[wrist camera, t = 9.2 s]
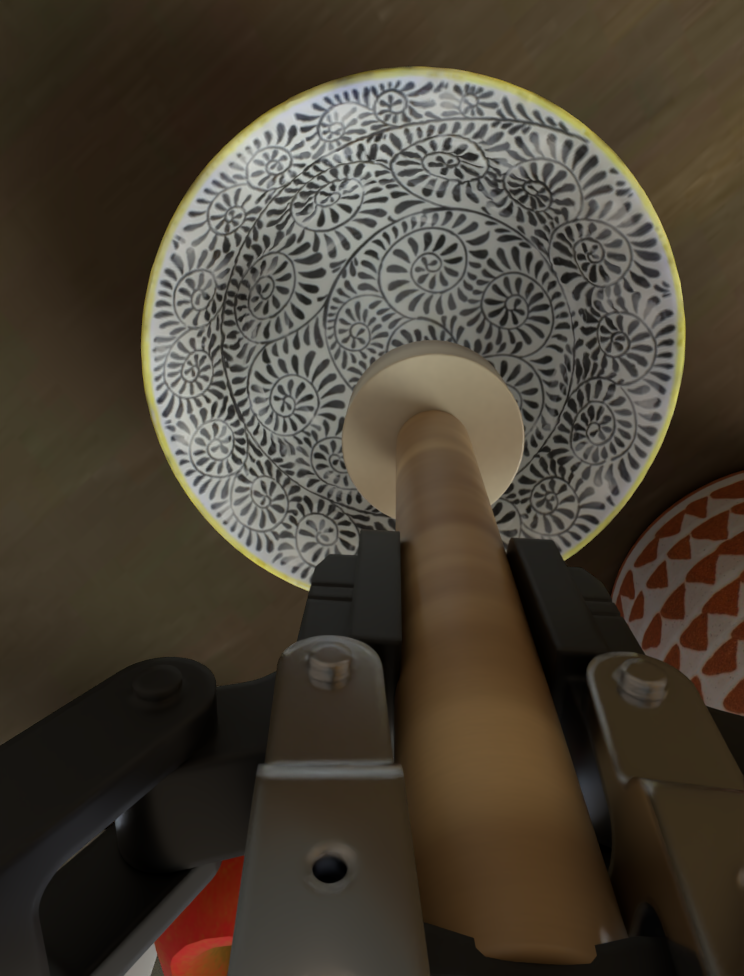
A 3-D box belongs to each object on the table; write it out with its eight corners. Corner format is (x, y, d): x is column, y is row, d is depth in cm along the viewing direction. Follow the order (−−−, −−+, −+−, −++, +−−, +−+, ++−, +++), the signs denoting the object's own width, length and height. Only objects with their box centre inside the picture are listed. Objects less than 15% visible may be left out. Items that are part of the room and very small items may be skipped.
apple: (383, 796, 36) (376, 1021, 26) (262, 853, 38) (213, 1080, 28) (289, 691, 33) (240, 895, 24) (165, 758, 36) (73, 971, 26)
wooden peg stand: (316, 387, 20) (64, 932, 5) (471, 308, 18) (763, 688, 4) (393, 523, 21) (382, 1243, 6) (539, 457, 20) (929, 1134, 5)
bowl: (273, 32, 22) (216, -46, 16) (688, 206, 24) (805, 205, 17) (168, 446, 29) (94, 521, 22) (505, 563, 30) (536, 668, 23)
